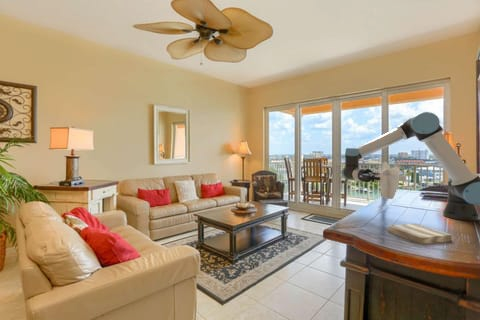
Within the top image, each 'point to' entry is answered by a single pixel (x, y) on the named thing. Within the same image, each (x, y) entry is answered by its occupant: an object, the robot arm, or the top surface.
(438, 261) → the top surface
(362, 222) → the top surface
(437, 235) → the striped wooden trivet
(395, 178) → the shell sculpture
